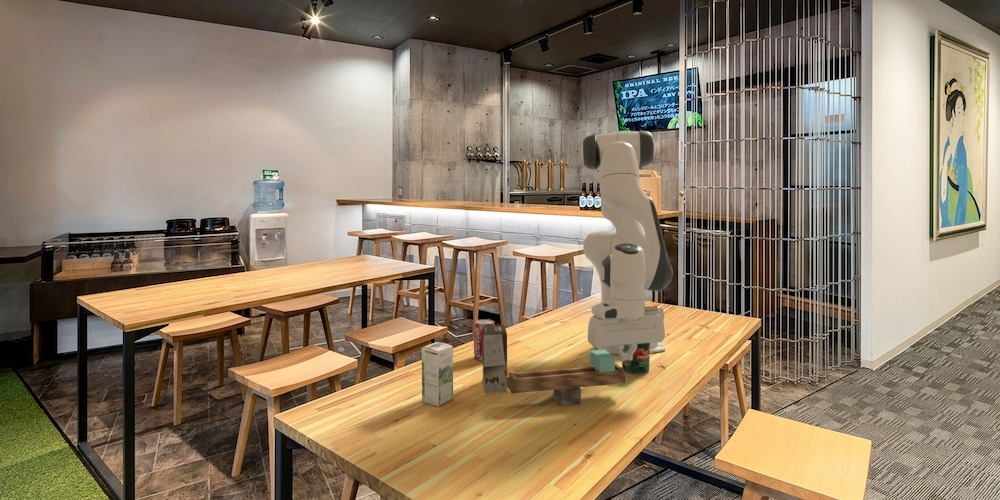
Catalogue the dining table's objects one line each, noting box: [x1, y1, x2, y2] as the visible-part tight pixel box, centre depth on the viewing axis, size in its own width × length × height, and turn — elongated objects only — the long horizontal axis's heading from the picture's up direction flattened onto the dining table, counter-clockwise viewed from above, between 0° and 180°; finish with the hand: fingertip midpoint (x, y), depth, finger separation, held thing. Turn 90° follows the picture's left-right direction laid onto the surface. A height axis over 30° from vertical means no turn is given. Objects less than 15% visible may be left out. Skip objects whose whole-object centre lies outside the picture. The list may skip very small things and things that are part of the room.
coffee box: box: [482, 324, 508, 394], centre depth 145 cm, size 9×6×16 cm
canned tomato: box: [621, 343, 651, 376], centre depth 157 cm, size 8×8×11 cm
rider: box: [589, 349, 616, 372], centre depth 137 cm, size 4×6×5 cm, turn 12°
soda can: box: [473, 318, 496, 362], centre depth 169 cm, size 7×7×12 cm
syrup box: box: [421, 341, 454, 407], centre depth 136 cm, size 6×6×14 cm
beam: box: [507, 362, 627, 407], centre depth 136 cm, size 30×7×8 cm, turn 102°
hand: (625, 360), depth 139 cm, fingers closed
